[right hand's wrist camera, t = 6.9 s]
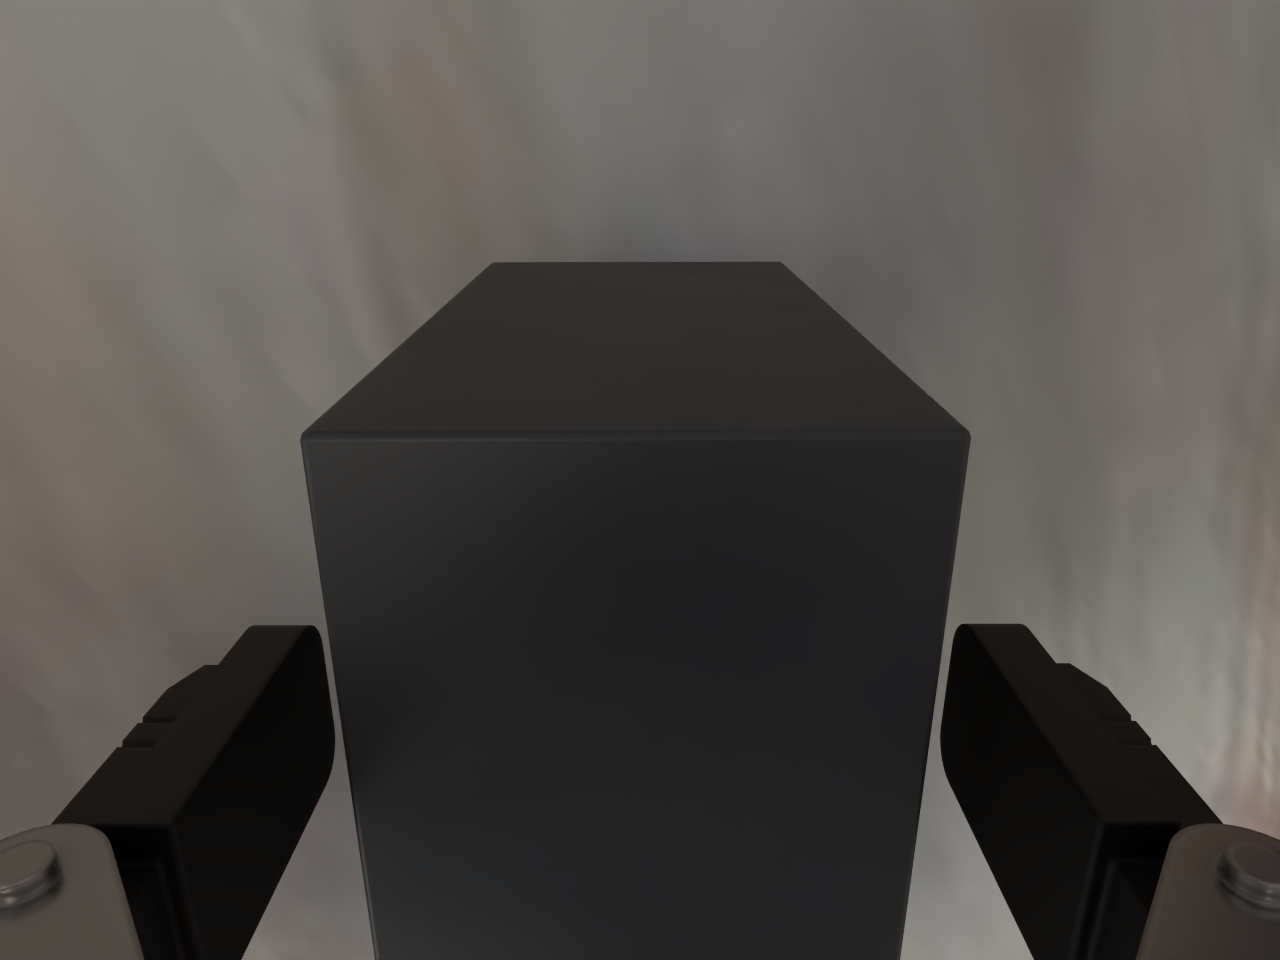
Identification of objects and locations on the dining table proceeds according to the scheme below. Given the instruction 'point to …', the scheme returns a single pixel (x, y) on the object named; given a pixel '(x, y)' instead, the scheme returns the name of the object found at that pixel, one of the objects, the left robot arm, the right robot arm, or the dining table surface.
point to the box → (636, 618)
